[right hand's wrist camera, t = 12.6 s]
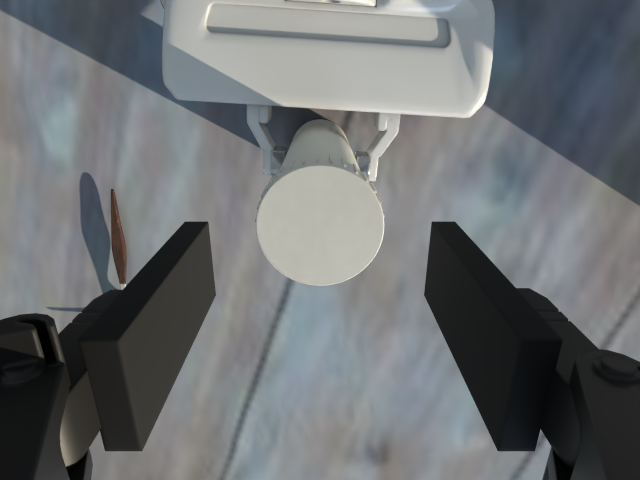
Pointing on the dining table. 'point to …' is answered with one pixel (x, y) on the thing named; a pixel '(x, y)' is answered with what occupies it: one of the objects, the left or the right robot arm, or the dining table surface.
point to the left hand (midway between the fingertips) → (319, 176)
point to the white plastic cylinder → (320, 142)
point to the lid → (319, 220)
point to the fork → (118, 242)
